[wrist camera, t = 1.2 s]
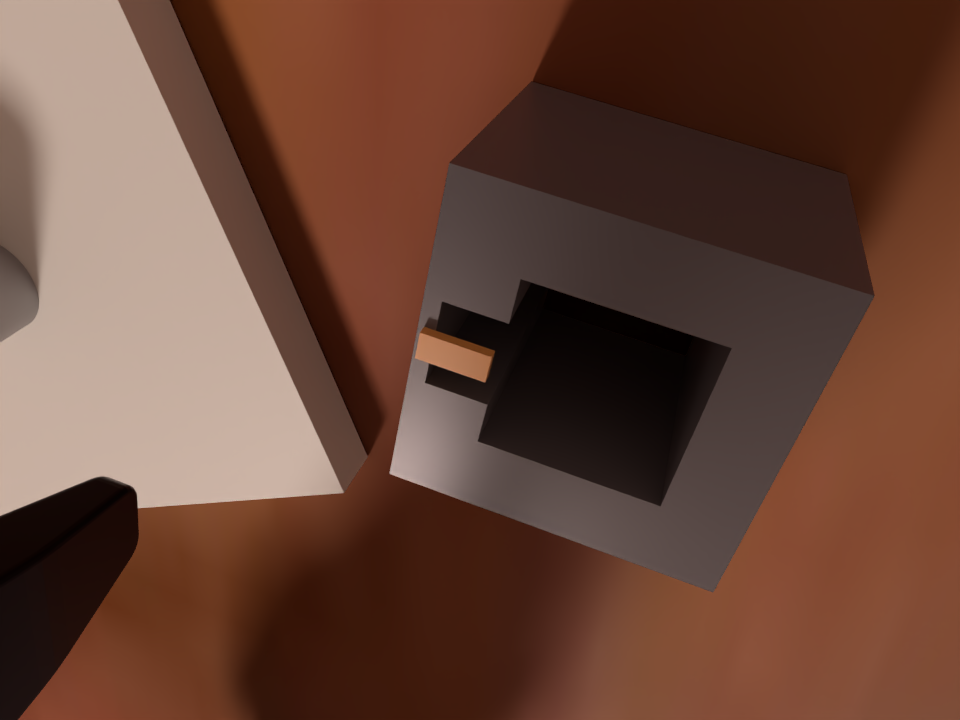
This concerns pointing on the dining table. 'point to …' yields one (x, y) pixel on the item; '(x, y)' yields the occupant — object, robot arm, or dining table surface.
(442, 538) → the dining table surface
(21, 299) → the base plate
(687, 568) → the grey box housing
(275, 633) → the dining table surface
